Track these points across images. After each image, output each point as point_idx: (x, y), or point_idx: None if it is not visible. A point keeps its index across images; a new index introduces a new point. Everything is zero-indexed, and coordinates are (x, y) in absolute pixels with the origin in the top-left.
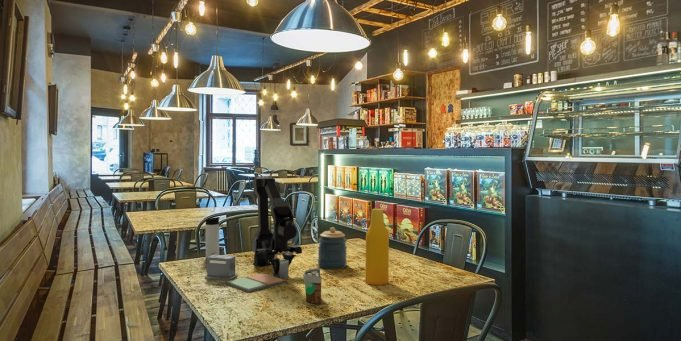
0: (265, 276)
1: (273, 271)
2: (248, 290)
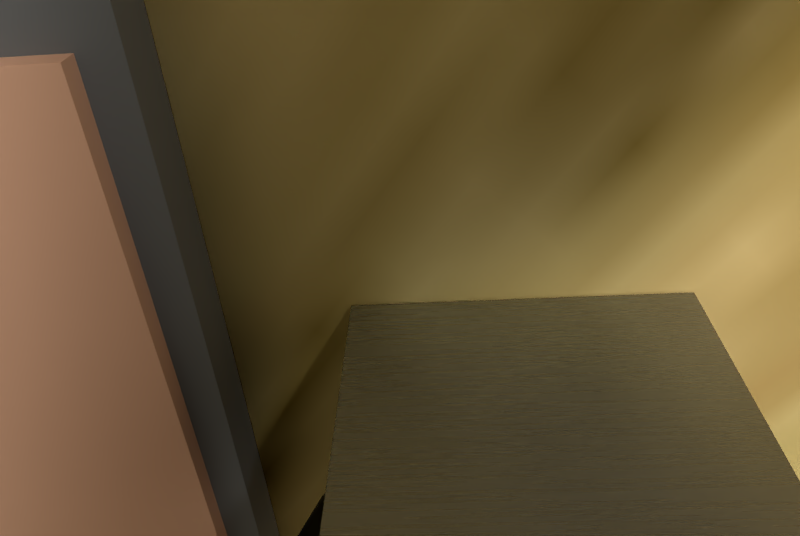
0: (11, 426)
1: (335, 450)
2: None
